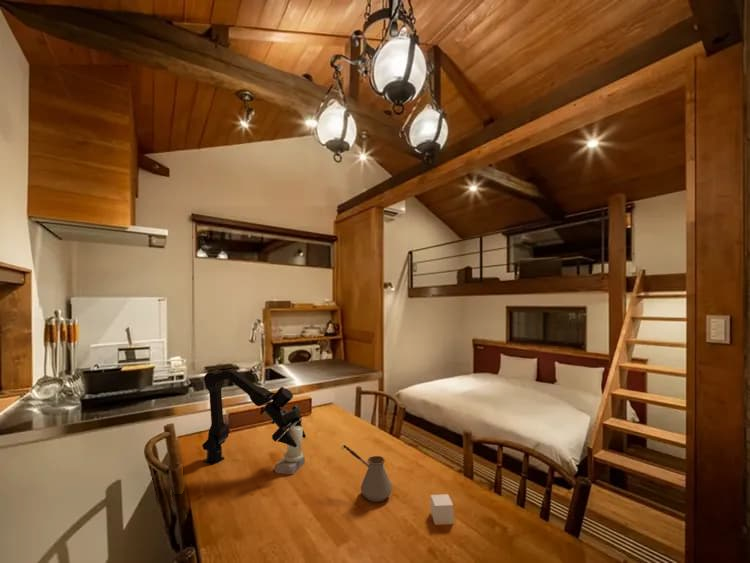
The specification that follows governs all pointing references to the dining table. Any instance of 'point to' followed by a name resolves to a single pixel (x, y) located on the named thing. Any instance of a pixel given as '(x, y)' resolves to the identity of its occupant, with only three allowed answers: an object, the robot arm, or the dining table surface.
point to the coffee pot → (374, 478)
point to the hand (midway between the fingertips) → (300, 441)
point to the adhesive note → (441, 509)
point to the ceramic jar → (295, 452)
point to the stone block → (288, 466)
